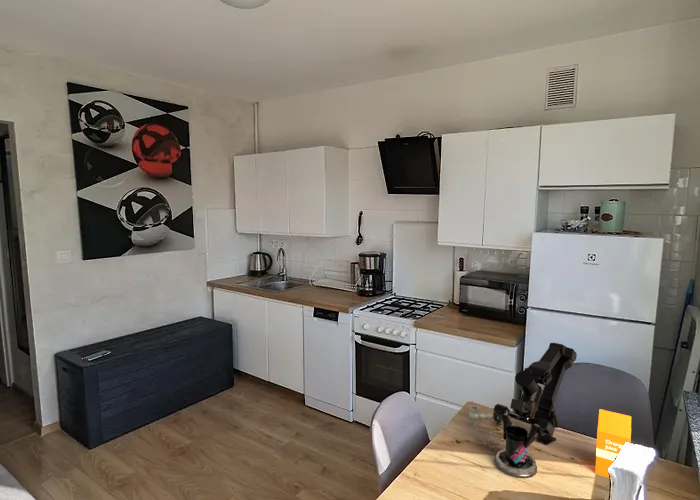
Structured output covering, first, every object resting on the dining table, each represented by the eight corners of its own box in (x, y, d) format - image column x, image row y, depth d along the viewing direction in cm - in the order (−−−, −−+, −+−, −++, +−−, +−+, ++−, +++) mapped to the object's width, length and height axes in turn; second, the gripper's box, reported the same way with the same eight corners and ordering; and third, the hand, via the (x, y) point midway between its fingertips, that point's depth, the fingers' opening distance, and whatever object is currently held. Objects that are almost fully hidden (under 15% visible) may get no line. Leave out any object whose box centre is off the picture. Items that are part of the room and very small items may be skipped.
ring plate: (511, 450, 148) (511, 444, 148) (545, 469, 137) (545, 462, 137) (486, 462, 141) (486, 455, 141) (520, 483, 130) (520, 476, 130)
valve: (470, 427, 164) (502, 428, 163) (471, 411, 164) (502, 412, 163) (467, 419, 171) (497, 420, 170) (467, 403, 170) (497, 404, 169)
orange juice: (597, 462, 141) (600, 404, 139) (629, 471, 136) (632, 411, 134) (594, 473, 135) (597, 413, 133) (627, 484, 130) (631, 421, 128)
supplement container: (505, 465, 137) (506, 434, 136) (504, 453, 143) (505, 424, 142) (527, 468, 135) (528, 437, 134) (525, 456, 141) (526, 427, 140)
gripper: (496, 381, 146) (479, 422, 140) (552, 397, 133) (537, 444, 126) (506, 395, 153) (490, 436, 146) (560, 413, 139) (546, 458, 133)
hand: (514, 443), depth 138 cm, fingers closed on supplement container, 7 cm apart
